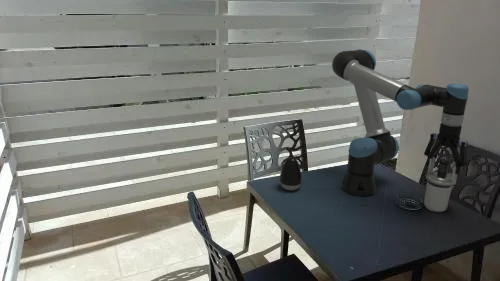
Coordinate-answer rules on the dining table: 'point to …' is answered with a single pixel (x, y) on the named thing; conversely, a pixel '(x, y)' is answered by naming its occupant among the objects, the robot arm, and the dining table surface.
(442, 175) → the lid
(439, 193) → the mug
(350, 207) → the dining table surface
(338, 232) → the dining table surface
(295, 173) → the black egg-shaped figure
